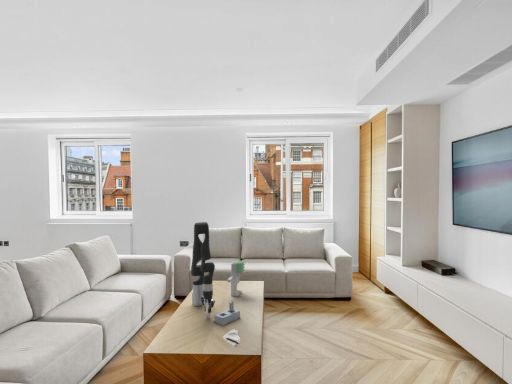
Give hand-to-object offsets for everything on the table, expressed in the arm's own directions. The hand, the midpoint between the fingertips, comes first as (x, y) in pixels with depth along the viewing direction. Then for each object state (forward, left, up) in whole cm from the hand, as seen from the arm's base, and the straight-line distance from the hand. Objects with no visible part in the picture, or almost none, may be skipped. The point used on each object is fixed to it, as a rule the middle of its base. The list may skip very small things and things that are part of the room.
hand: (207, 312), depth 240 cm
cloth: (+36, -10, -6) cm, 38 cm away
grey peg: (+13, +12, -5) cm, 18 cm away
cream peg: (0, 0, -5) cm, 5 cm away
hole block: (+13, +8, -5) cm, 16 cm away
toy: (-21, +55, -5) cm, 59 cm away
